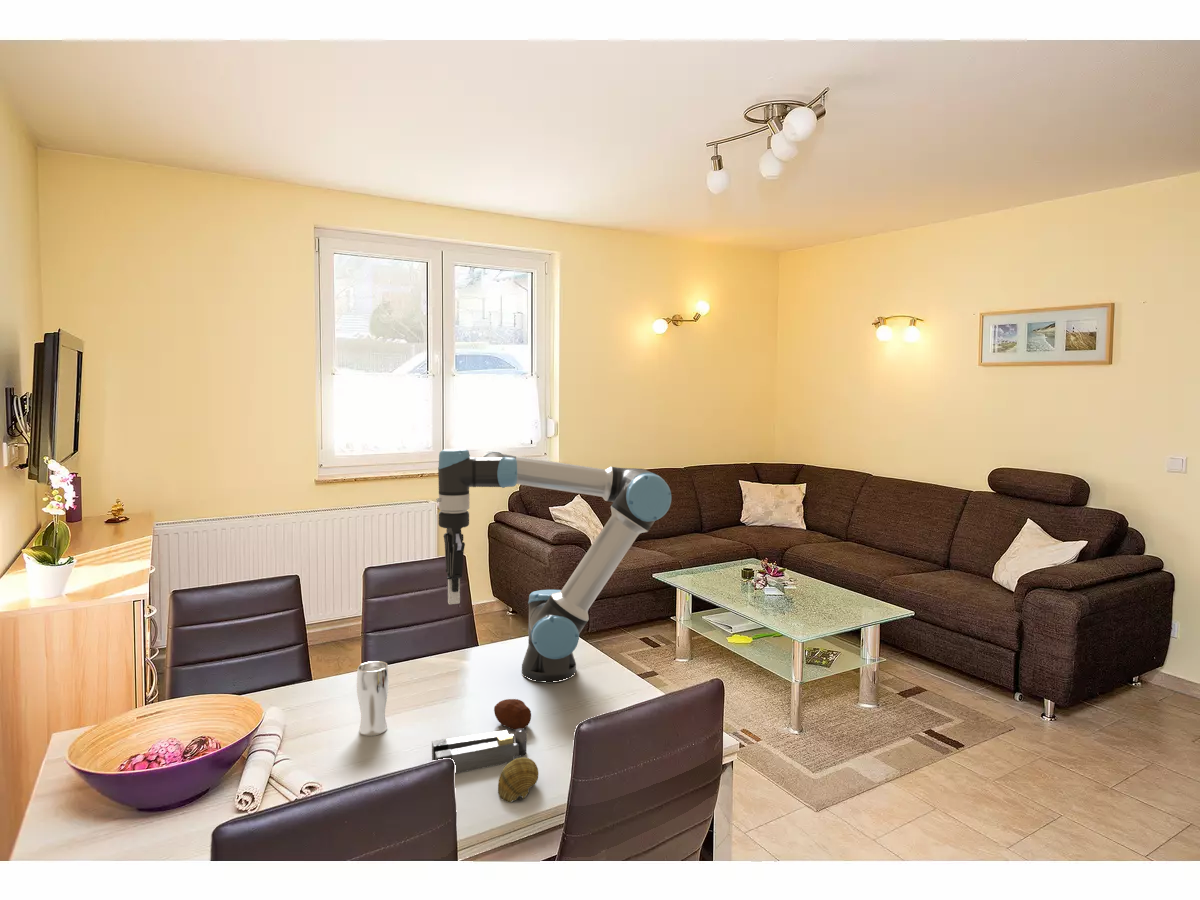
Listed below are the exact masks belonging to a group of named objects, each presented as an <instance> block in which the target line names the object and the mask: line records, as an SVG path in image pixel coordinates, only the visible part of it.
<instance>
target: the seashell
mask: <svg viewBox="0 0 1200 900" xmlns="http://www.w3.org/2000/svg"><path fill="white" fill-rule="evenodd" d="M538 780H539V768H538V766H537V764H536V762H535V761H534V760H532V759H531V758H529V757H525V756H522V757H517V758H514V760H512V761H511V762H510V763H506V765H505V766H504V768H503V769H502V771H501V773H500V775H499V777H498V785H497V786H498V787H497V793H498V797H499V798H500V800H502V801H504V802H507V803H512V802H514V801H516V800H517V799H518V798H520V797H521V798H522V799H523V800H524V799H525V798H526V797H527V796H528V794H529V789H530V788H532V787H534V785H536V784H537V781H538Z"/></svg>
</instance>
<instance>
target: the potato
mask: <svg viewBox="0 0 1200 900" xmlns="http://www.w3.org/2000/svg"><path fill="white" fill-rule="evenodd" d="M493 712H494V716H495V718H496V720H497V721H498V722H499V724H501V725H502V726H503V727H506V728H508V729H511V730H515V731H516V730H517V729H520V728H523V729H526V727H528V726H529V724H530V723H531V719H532V711H531V709H530V708H529V706H527V705H526V703H525V702H524V701H523V700H521V699H518V698H517V699H516V698H507V699H504V700H500V701H499V702H497V703H496V704H495V705H494V707H493Z"/></svg>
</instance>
